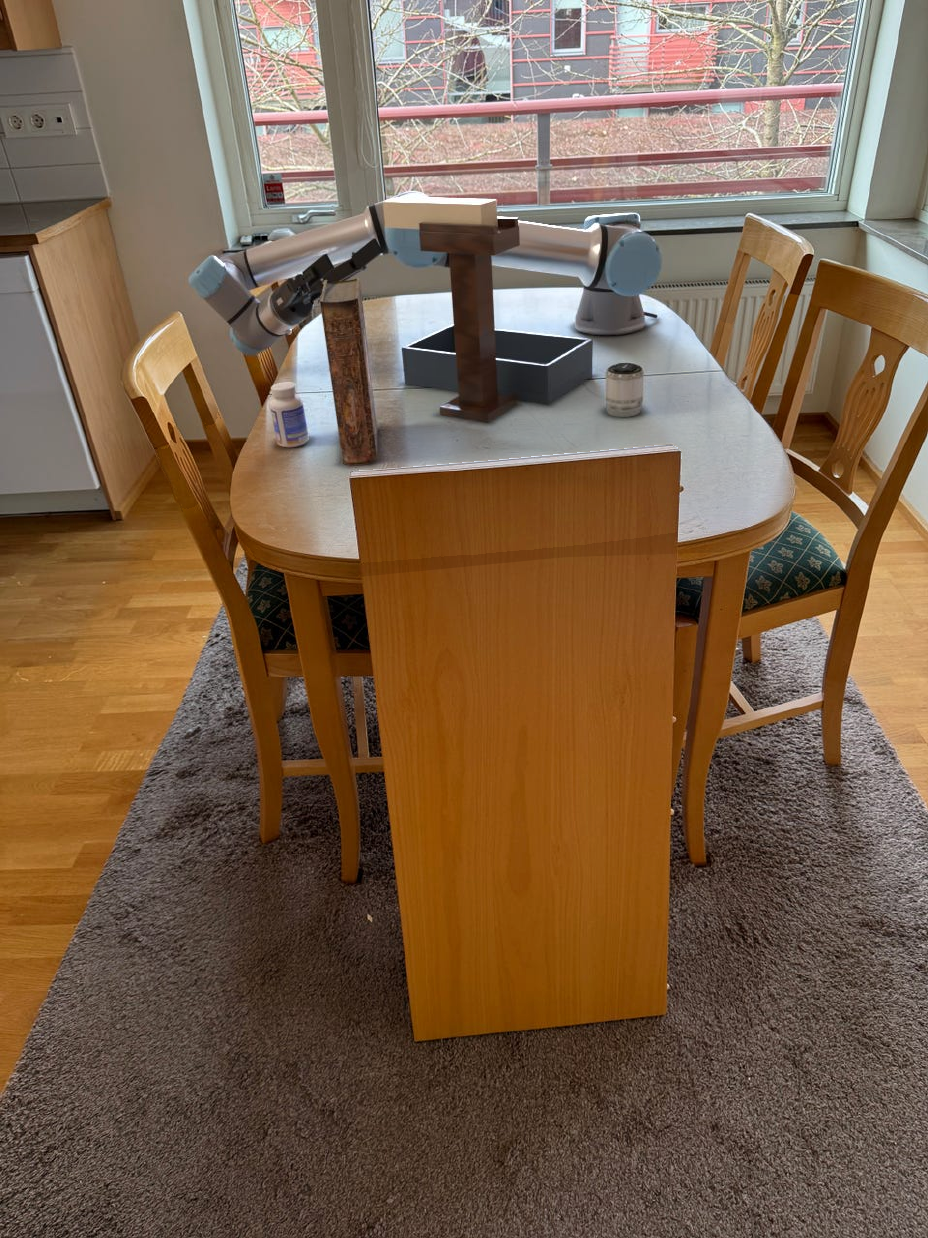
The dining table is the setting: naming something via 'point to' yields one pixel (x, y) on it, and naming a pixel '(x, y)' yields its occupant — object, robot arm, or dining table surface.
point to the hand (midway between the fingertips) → (354, 252)
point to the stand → (473, 311)
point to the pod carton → (438, 211)
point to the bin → (506, 363)
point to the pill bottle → (288, 415)
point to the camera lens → (624, 389)
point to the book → (350, 370)
